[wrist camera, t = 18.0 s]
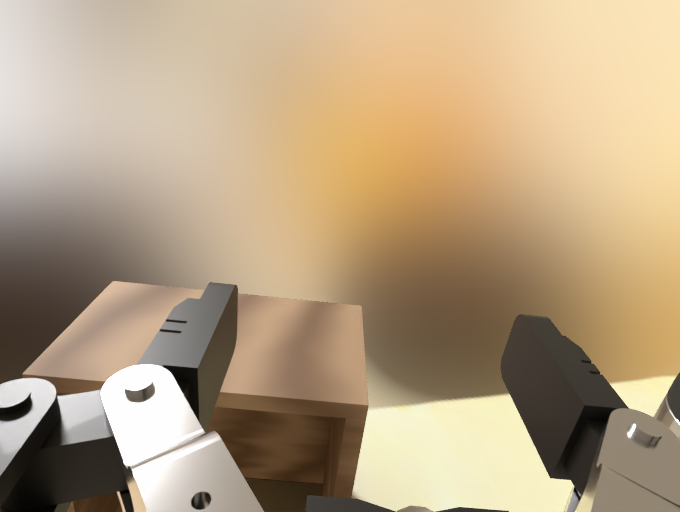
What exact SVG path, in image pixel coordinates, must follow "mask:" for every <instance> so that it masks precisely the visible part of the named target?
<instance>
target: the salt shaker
mask: <svg viewBox="0 0 680 512" xmlns="http://www.w3.org/2000/svg"><path fill="white" fill-rule="evenodd" d="M397 512H433V511H431V510H429V509H427V508H425V507H419V506H409V507H406V508H403V509H401V510H398V511H397Z"/></svg>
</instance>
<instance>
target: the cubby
mask: <svg viewBox="0 0 680 512" xmlns="http://www.w3.org/2000/svg"><path fill="white" fill-rule="evenodd" d="M204 291H205V290H198V289H188V288H177V287H168V286H158V285H148V284H138V283H137V284H136V283H128V282H118V281H113V282H112V283H111V284H110V285H109V286H108V287H107V288H106V289H105V290H104V291H103V292H102V293H101V294H100V295H99V296H98V297H97V298H96V299H95V300H94V301H93V302H92V303H91V304H90V305H89V306H88V307H87V308H86V309H85V310H84V312H82V313H81V314H80V315H79V316H78V317H77V319H75V321H74V322H73V323H72V324H71V325H70V326H69V327H68V328H67V329H66V330H65V331H64V332H63V333H62V334H61V335H60V336H59V337H58V338H57V339H56V340H55V341H54V342H53V343H52V344H51V345H50V346H49V347H48V348H47V349H46V350H45V351H44V352H43V353H42V354H41V355H40V356H39V357H38V359H36V360H35V361H34V363H33V364H32V365H31V366H30V367H29V368H28V369H27V370H26V371H25V372H24V373H23V374H22V375H23V378H39V379H44V380H46V381H49V382H50V383H52V384H53V385H54V387H55V389H56V393H57V396H63V395H70V394H78V393H85V392H91V391H97V390H100V389H102V388H103V386H104V385H105V383H106V382H107V381H108V380H109V378H111V377H112V376H113V375H115V374H116V373H118V372H120V371H122V370H124V369H126V368H129V367H133V366H136V365H137V363H138V362H139V360H140V359H141V357H142V356H143V354H144V353H145V351H146V350H147V348H148V346H149V345H150V343H151V342H152V340H153V339H154V337H155V336H156V334H157V332H158V331H160V328H161V326H162V325H163V323H164V322H166V319H167V317H168V315H169V314H170V312H171V311H172V309H173V308H174V307H175V306H177V305H178V304H180V303H181V302H183V301H184V300H186V299H187V298H194V299H200V298H201V296H202V294H203V293H204ZM363 336H364V335H363V321H362V307H361V306H358V305H348V304H338V303H328V302H318V301H308V300H298V299H288V298H277V297H268V296H258V295H248V294H238V318H237V340H236V346H235V350H234V354H233V357H232V359H231V362H230V365H229V368H228V371H227V373H226V376H225V379H224V382H223V385H222V388H221V390H220V393H219V396H218V399H217V402H216V404H215V407H214V410H213V413H212V416H211V419H210V421H209V424H208V427H207V430H206V432H208V431H211V430H214V431H216V432H217V434H218V435H219V436H220V438H221V439H222V441H223V443H224V444H225V446H226V448H227V449H228V451H229V453H230V455H231V456H232V458H233V460H234V461H235V463H236V465H237V466H238V468H239V470H240V472H241V473H242V475H243V477H246V478H258V479H270V480H283V481H295V482H307V483H319V484H323V486H322V496H327V497H339V498H351V496H352V490H353V485H354V480H355V474H356V469H357V464H358V458H359V453H360V448H361V443H362V437H363V432H364V427H365V421H366V416H367V411H368V392H367V378H366V363H365V349H364V337H363ZM67 512H123V510H122V507H121V503H120V500H119V497H118V494H117V492H114V493H110V494H105V495H100V496H96V497H91V498H86V499H82V500H77V501H72V502H71V504H70V506H69V508H68V510H67Z"/></svg>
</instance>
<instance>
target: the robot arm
mask: <svg viewBox="0 0 680 512" xmlns="http://www.w3.org/2000/svg"><path fill="white" fill-rule="evenodd" d="M237 318H238V288H237V285H232V284H222V283H212V282H210V283H209V284H208V286H207V287H206V289H205V291H204V293H203V294H202V296H201V298H200V299H194V298H187V299H186V300H184V301H183V302H181V303H180V304H178V305H177V306H175V307H174V308H173V309H172V311H171V312H170V314H169V315H168V317H167V319H166V322H164V323H163V325H162V326H161V328H160V331H158V332H157V334H156V336H155V337H154V339H153V340H152V342H151V343H150V345H149V346H148V348H147V350H146V351H145V353H144V354H143V356H142V357H141V359H140V360H139V362H138V363H137V365H136V366H133V367H129V368H126V369H124V370H122V371H120V372H118V373H116V374H115V375H113V376H112V377H111V378H109V380H108V381H107V382H106V383H105V385H104V386H103V388H102V389H100V390H97V391H91V392H85V393H78V394H70V395H63V396H57V393H56V389H55V387H54V385H53V384H52V383H50V382H49V381H46V380H44V379H39V378H23V379H17V380H13V381H9V382H6V383H3V384H1V385H0V512H67V510H68V508H69V506H70V504H71V502H72V501H77V500H82V499H86V498H91V497H96V496H100V495H105V494H110V493H114V492H117V494H118V497H119V500H120V503H121V507H122V510H123V512H264V511H263V509H262V507H261V506H260V504H259V502H258V500H257V499H256V497H255V495H254V494H253V492H252V490H251V489H250V487H249V485H248V483H247V482H246V480H245V478H244V477H243V475H242V473H241V472H240V470H239V468H238V466H237V465H236V463H235V461H234V460H233V458H232V456H231V455H230V453H229V451H228V449H227V448H226V446H225V444H224V443H223V441H222V439H221V438H220V436H219V435H218V434H217V432H216V431H214V430H211V431H208V432H206V430H207V427H208V424H209V421H210V419H211V416H212V413H213V410H214V407H215V404H216V402H217V399H218V396H219V393H220V390H221V388H222V385H223V382H224V379H225V376H226V373H227V371H228V368H229V365H230V362H231V359H232V357H233V354H234V350H235V346H236V340H237ZM501 374H502V378H503V380H504V383H505V385H506V387H507V389H508V391H509V393H510V395H511V397H512V399H513V401H514V403H515V405H516V408H517V410H518V412H519V414H520V416H521V418H522V420H523V422H524V424H525V426H526V428H527V430H528V433H529V435H530V437H531V439H532V441H533V443H534V445H535V447H536V449H537V451H538V453H539V455H540V458H541V460H542V462H543V464H544V466H545V468H546V470H547V472H548V474H549V476H550V478H555V479H567V480H571V481H572V483H573V485H574V487H573V489H572V491H571V493H570V495H569V497H568V500H567V503H566V506H565V510H564V512H680V373H679V374H678V375H677V377H676V378H675V380H674V382H673V384H672V385H671V387H670V389H669V391H668V393H667V395H666V396H665V398H664V400H663V402H662V403H661V405H660V407H659V409H658V410H657V412H656V414H655V416H654V417H651V416H649V415H647V414H645V413H643V412H640V411H637V410H633V409H629V408H628V407H627V406H626V404H625V403H624V402H623V401H622V399H621V398H620V397H619V396H618V394H617V393H616V392H615V390H614V389H613V388H612V387H611V385H610V384H609V383H608V382H607V380H606V379H605V378H604V376H603V375H600V372H599V370H598V369H597V368H596V366H595V365H594V364H591V360H590V359H589V357H588V356H587V355H586V354H585V352H584V351H583V350H582V349H581V348H580V347H579V346H578V345H576V344H575V343H574V342H572V341H571V340H570V339H568V338H567V337H566V336H562V335H561V333H560V332H559V331H558V329H557V328H556V327H555V325H554V324H553V323H552V322H551V320H550V319H549V318H548V317H543V316H532V315H523V314H521V315H518V316H517V317H516V319H515V321H514V324H513V327H512V330H511V332H510V335H509V339H508V341H507V344H506V347H505V350H504V353H503V356H502V360H501ZM305 512H395V511H392V510H389V509H386V508H383V507H380V506H377V505H374V504H371V503H368V502H365V501H362V500H359V499H352V498H339V497H327V496H315V495H307V500H306V508H305ZM437 512H509V511H501V510H488V509H476V508H463V507H458V508H453V509H448V510H443V511H437Z"/></svg>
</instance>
